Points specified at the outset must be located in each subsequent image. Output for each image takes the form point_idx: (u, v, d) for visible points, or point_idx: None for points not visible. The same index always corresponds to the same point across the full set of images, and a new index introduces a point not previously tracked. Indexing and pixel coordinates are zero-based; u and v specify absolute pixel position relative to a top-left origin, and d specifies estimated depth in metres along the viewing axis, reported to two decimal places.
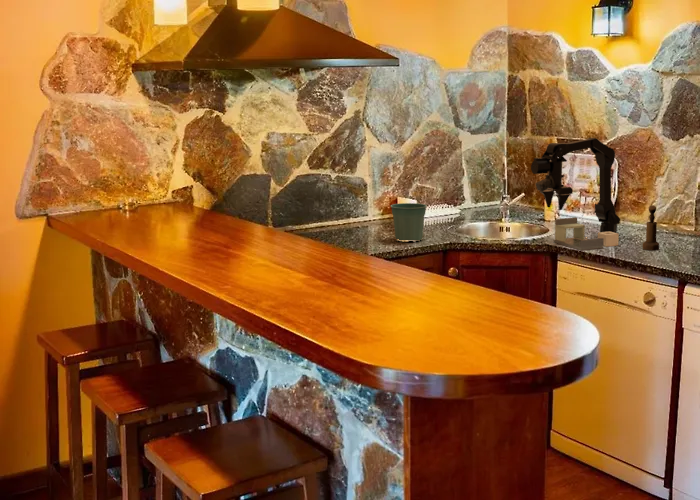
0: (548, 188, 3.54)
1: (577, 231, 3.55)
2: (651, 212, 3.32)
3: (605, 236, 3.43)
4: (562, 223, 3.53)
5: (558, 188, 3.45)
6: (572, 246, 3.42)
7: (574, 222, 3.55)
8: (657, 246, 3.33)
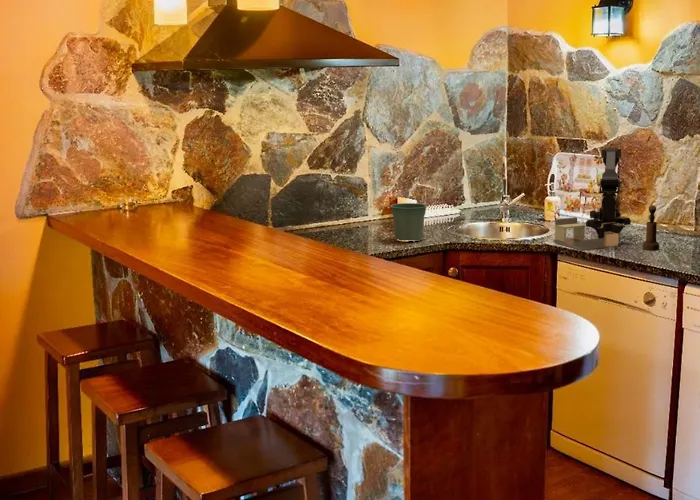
0: (610, 221, 3.47)
1: (577, 231, 3.55)
2: (651, 212, 3.32)
3: (605, 236, 3.43)
4: (562, 223, 3.53)
5: None
6: (572, 246, 3.42)
7: (574, 222, 3.55)
8: (657, 246, 3.33)
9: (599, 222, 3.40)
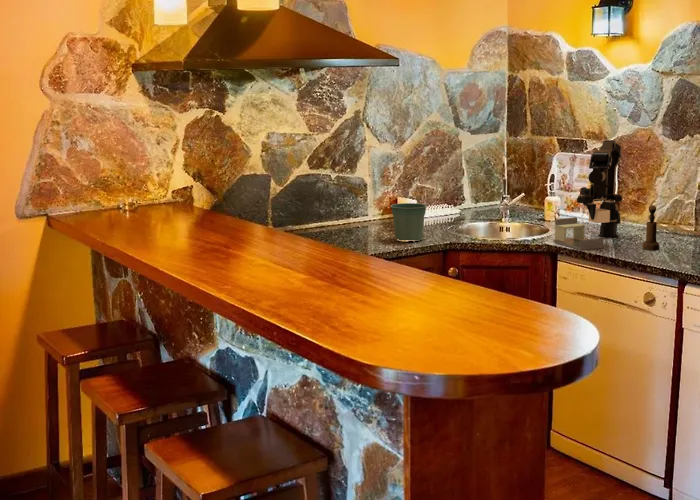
0: (601, 197, 3.43)
1: (577, 231, 3.55)
2: (651, 212, 3.32)
3: (596, 212, 3.38)
4: (562, 223, 3.53)
5: None
6: (572, 246, 3.42)
7: (574, 222, 3.55)
8: (657, 246, 3.33)
9: (590, 198, 3.36)
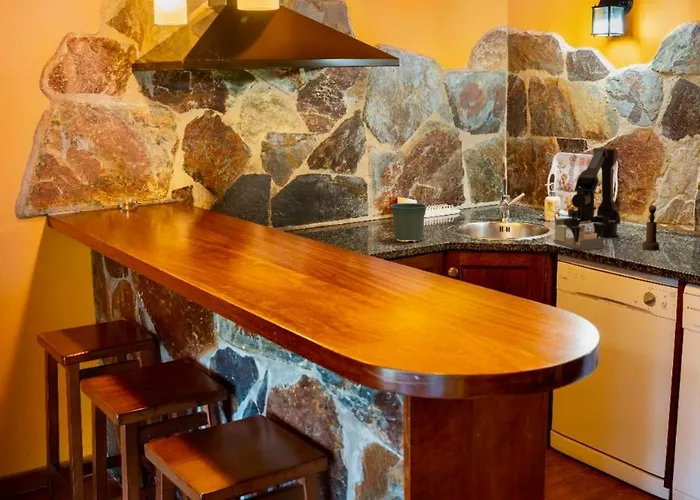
0: (588, 220, 3.43)
1: None
2: (651, 212, 3.32)
3: (583, 236, 3.38)
4: (562, 223, 3.53)
5: None
6: (572, 246, 3.42)
7: None
8: (657, 246, 3.33)
9: (577, 221, 3.36)
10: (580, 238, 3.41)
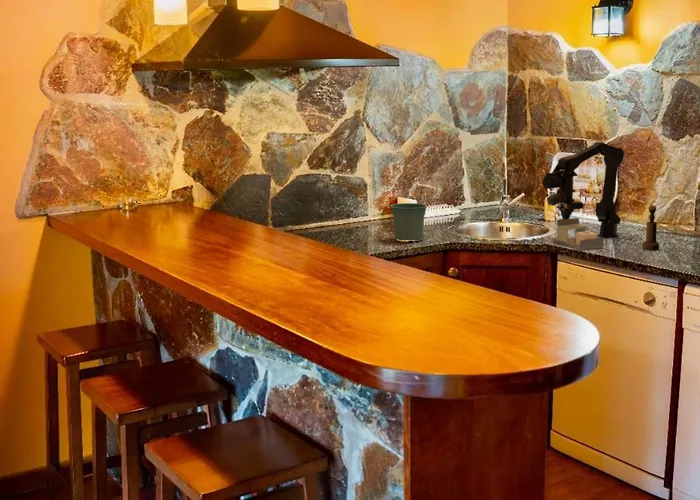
0: (559, 202, 3.55)
1: (579, 231, 3.53)
2: (651, 212, 3.32)
3: (583, 236, 3.38)
4: (564, 223, 3.52)
5: (569, 202, 3.47)
6: (572, 246, 3.42)
7: (576, 222, 3.54)
8: (657, 246, 3.33)
9: None
10: (580, 238, 3.41)
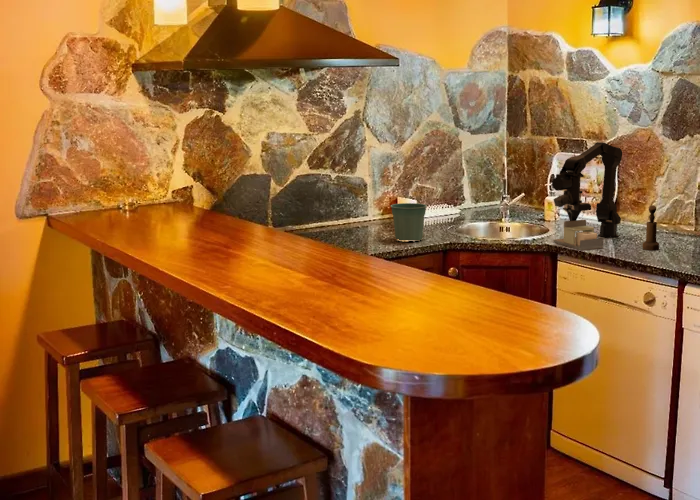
0: (566, 204, 3.50)
1: None
2: (651, 212, 3.32)
3: (583, 236, 3.38)
4: (571, 225, 3.47)
5: (576, 204, 3.42)
6: (572, 246, 3.42)
7: (583, 224, 3.49)
8: (657, 246, 3.33)
9: None
10: (580, 238, 3.41)
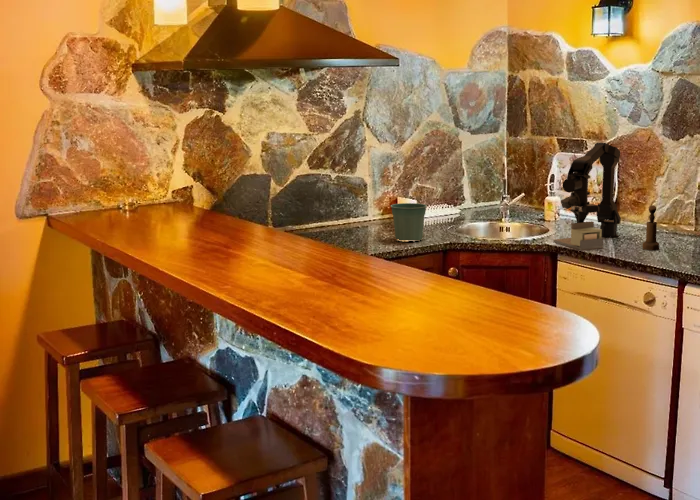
0: (573, 205, 3.45)
1: None
2: (651, 212, 3.32)
3: (583, 236, 3.38)
4: (578, 227, 3.42)
5: (584, 205, 3.37)
6: (572, 246, 3.42)
7: (590, 226, 3.44)
8: (657, 246, 3.33)
9: None
10: None
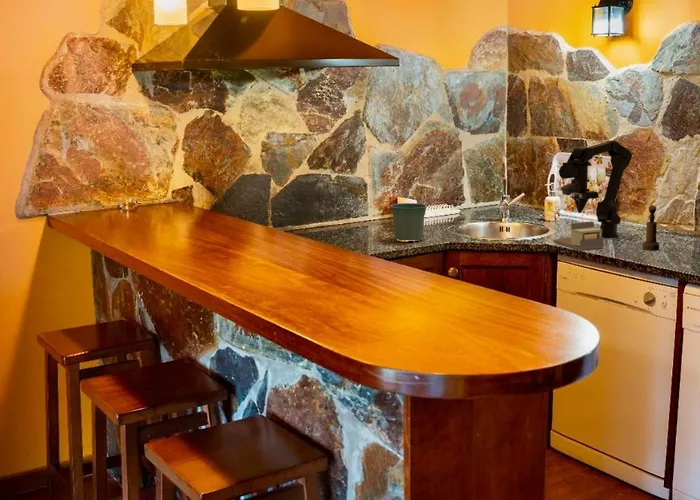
0: (573, 192, 3.54)
1: None
2: (651, 212, 3.32)
3: (583, 236, 3.38)
4: (578, 227, 3.42)
5: (584, 192, 3.45)
6: (572, 246, 3.42)
7: (590, 226, 3.44)
8: (657, 246, 3.33)
9: None
10: None
